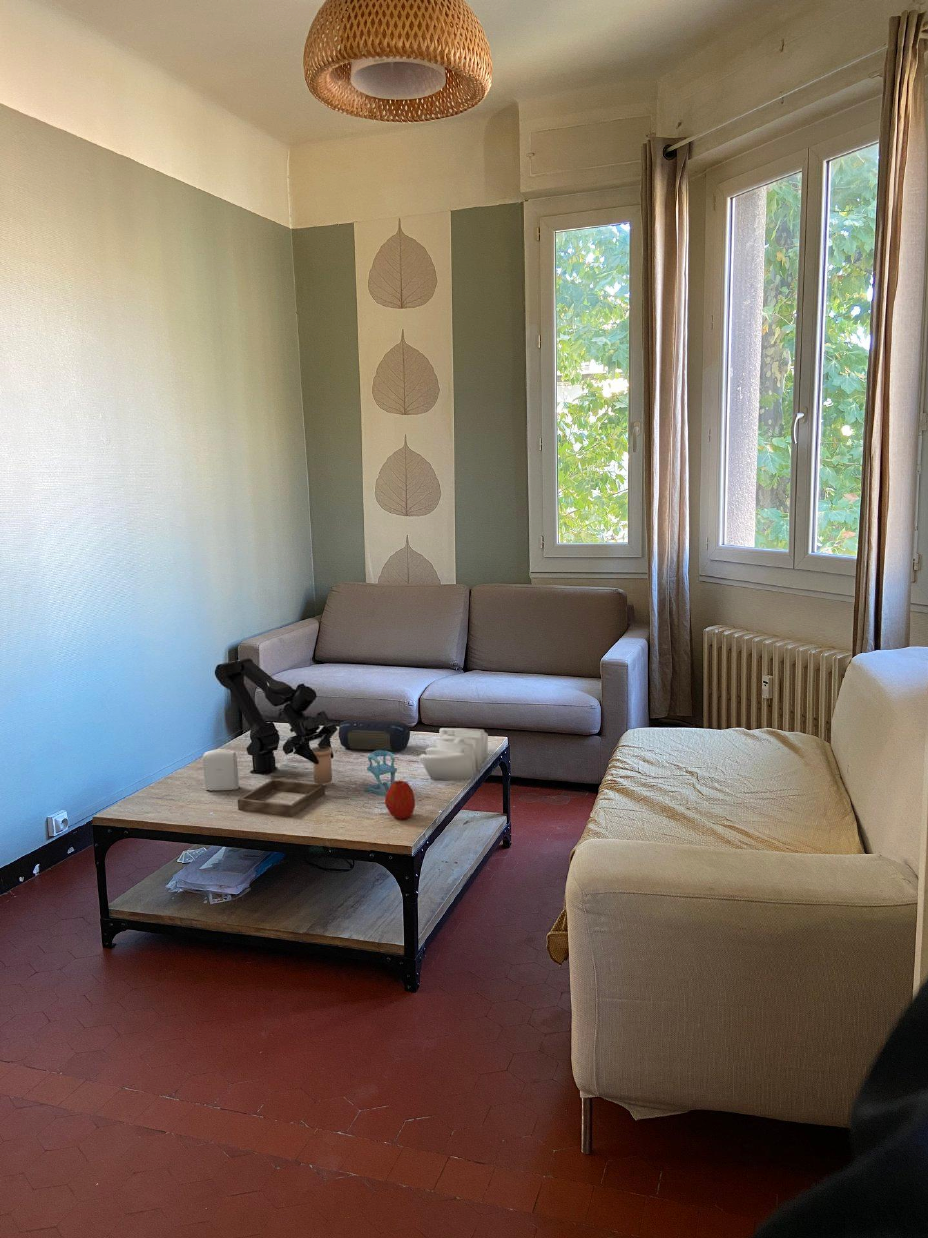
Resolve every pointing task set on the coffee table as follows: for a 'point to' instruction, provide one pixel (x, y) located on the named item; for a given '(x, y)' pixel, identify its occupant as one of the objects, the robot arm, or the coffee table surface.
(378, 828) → the coffee table surface
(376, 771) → the chair
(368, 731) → the portable speaker
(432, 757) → the white wavy slab sculpture
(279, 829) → the coffee table surface
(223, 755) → the photo printer
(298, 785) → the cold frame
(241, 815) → the coffee table surface
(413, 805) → the apple
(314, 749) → the terracotta pot
